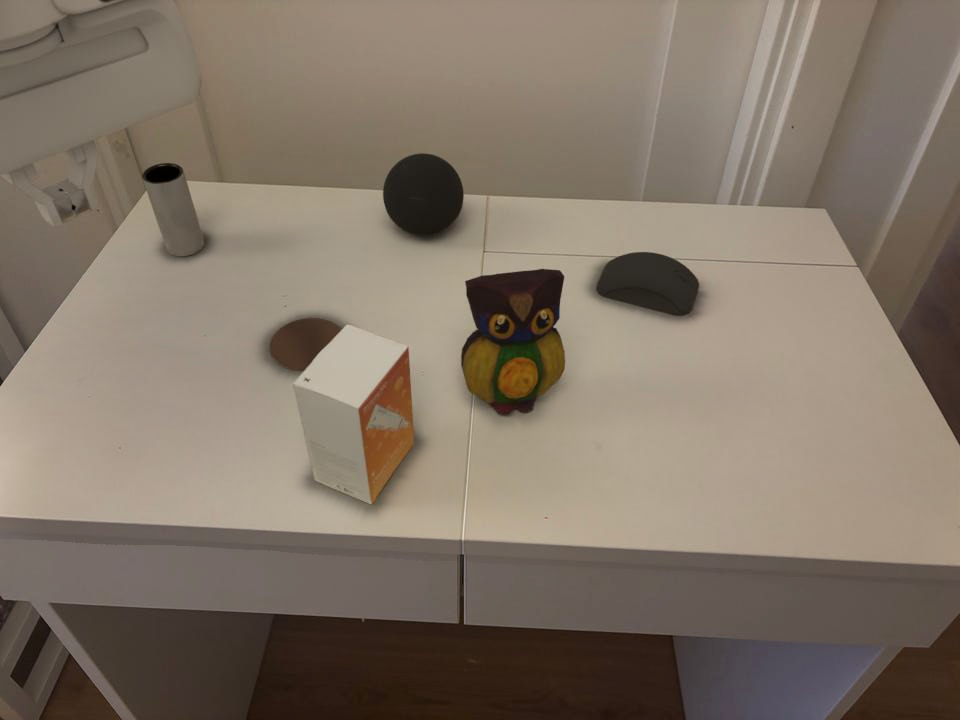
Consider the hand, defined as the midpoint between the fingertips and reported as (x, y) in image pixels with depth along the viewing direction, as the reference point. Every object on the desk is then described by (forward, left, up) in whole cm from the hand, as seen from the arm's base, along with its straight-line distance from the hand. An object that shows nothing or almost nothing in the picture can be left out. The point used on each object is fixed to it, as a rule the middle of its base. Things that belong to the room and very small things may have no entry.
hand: (72, 214), depth 47 cm
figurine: (+28, -14, -29) cm, 43 cm away
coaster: (+19, +7, -29) cm, 35 cm away
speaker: (+43, +13, -29) cm, 54 cm away
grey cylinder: (+20, +32, -29) cm, 48 cm away
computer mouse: (+52, -15, -29) cm, 62 cm away
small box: (+13, -9, -29) cm, 33 cm away
